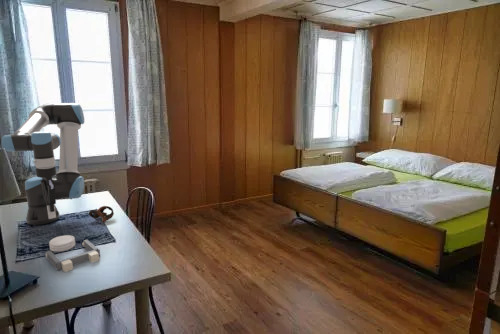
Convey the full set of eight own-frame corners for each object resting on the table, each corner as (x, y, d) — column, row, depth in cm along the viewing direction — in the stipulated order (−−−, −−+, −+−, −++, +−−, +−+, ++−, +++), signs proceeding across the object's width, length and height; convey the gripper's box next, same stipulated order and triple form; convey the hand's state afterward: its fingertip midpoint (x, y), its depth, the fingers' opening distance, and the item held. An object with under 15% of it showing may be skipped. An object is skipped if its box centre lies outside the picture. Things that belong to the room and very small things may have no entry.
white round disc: (48, 245, 149) (47, 238, 149) (73, 240, 155) (72, 233, 154) (51, 254, 141) (50, 246, 141) (77, 248, 147) (76, 240, 146)
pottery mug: (111, 215, 186) (114, 204, 182) (111, 228, 179) (114, 217, 175) (87, 213, 180) (90, 202, 176) (86, 227, 173) (89, 215, 169)
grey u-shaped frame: (45, 256, 139) (44, 250, 139) (86, 244, 150) (85, 238, 150) (60, 273, 127) (59, 266, 126) (103, 258, 138) (102, 252, 137)
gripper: (31, 166, 149) (38, 216, 154) (40, 170, 140) (47, 224, 145) (50, 163, 154) (56, 212, 159) (59, 168, 145) (66, 219, 150)
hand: (52, 217), depth 152 cm, fingers closed
